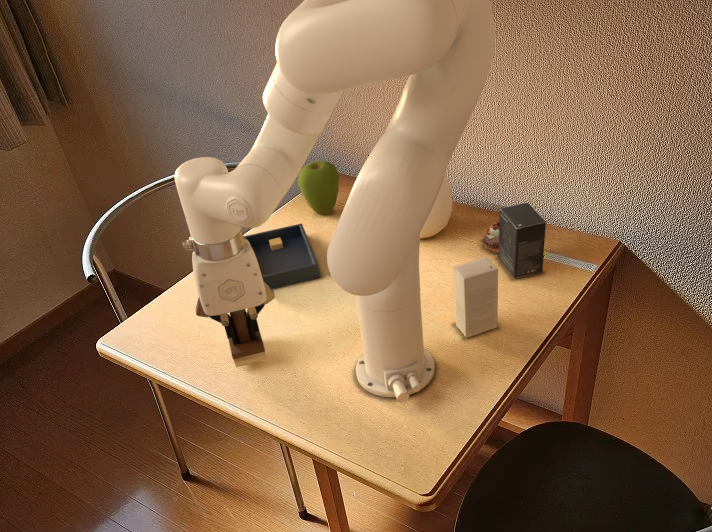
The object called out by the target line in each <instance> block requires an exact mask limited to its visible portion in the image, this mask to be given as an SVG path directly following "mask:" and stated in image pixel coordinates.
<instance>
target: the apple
mask: <svg viewBox="0 0 712 532" xmlns="http://www.w3.org/2000/svg"><path fill="white" fill-rule="evenodd" d="M297 179H298V180H297V184H298V187H299V189H300V192H301V195H302V197H303V198H304V200H305V202H306V203H307V205H308V207H309V208H310V209H311V210H313V211H314V212H315V213H316V214H317V215H319V216H326V215H329V214H330V213H331V212H332V211H333V209H334V207H335V205H336V204H337V200H338V199H337V198H338V195H339V190H340V189H339V188H340V187H339V186H340V185H339V184H340V183H339V182H340V173H339V171H338V169H337V167H336V166H335V165H334V164H333V163H331V162H329V161H326V160H315V161H312V162H309V163H307V164H304V165H303V166H302V168H301V170H300V172H299V174H298V177H297Z"/></svg>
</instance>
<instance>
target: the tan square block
mask: <svg viewBox="0 0 712 532" xmlns="http://www.w3.org/2000/svg"><path fill="white" fill-rule="evenodd" d="M269 243H270V247H271V249H272V251H273V250H277V249H281V248H283V243H282V241H281V238H280V237H279V238H275V239H271V240H269Z"/></svg>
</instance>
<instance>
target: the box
mask: <svg viewBox="0 0 712 532" xmlns="http://www.w3.org/2000/svg"><path fill="white" fill-rule="evenodd" d="M499 220H500V222H499V253H498V259H499V260H500V262H501V263H502V264H503V266H504V267H505V268H506V270H507V271H508V272H509V273H510V275H511V276H512V278H513V279H520V278H524V277H525V278H526V277H529V276H532V275H533V276H534V275H537V274H541V273H542V272H543V265H544V254H545V243H546V242H545V241H546V227H547V222H546V221H545V219H544V218H543V217H542V216H541V215H540V214H539V213H538V212H537V211H536V209H535V208H534V207H533V206H531V204H530V203H529V202H525V203H523V202H522V203H518V204H515V205H510V206H505V207H501V208H499Z"/></svg>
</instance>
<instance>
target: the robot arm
mask: <svg viewBox="0 0 712 532" xmlns="http://www.w3.org/2000/svg"><path fill="white" fill-rule="evenodd" d="M494 49H495V20H494V12H493V7H492V3H491V0H303V1H302V2H301V3H300V4H299V5H298V6H297V7H296V8H295V9H294V10H292V11H291V13H290V14H288V16H287V17H286V18H285V19H284V20H283V22H282V23H281V26H280V27H279V30H278V32H277V35H276V40H275V58H276V59H275V60H276V64H275V66H274V67H273V70H272V73H271V74H270V77H269V79H268V81H267V83H266V85H265V87H264V90H263V93H262V103H263V106H264V108H265V111H266V112H267V116H266V118H265V120H264V123H263V125H262V127H261V129H260V132H259V134H258V136H257V138H256V140H255V142H254V144H253V145H252V147H251V149H250V151H249V152H248V153H247V155H245V157H244V158H243V159H242V160H241V161H240V162H239V163H238V165H236V167H235V168H234V169H232V170H230V171H229V170H228V168H227V166H226V164H225V163H224V162H223V161H222V160H220V159H218V158H215V157H211V156H201V157H196V158H195V157H194V158H192V159H189V160H187V161H185V162H183V163H182V164H180V165H179V166H178V167H177V169H176V170H175V173H174V183H175V187H176V191H177V194H178V198H179V201H180V204H181V207H182V211H183V215H184V218H185V222H186V224H187V228H188V231H189V235H190V237H189V239H187V240H186V241H182V247H183V249H184V252H187V251H192V253H191V254H192V255H191V256H192V257H191V261H192V271H193V276H194V277H193V278H194V281H195V286H196V290H197V294H198V298H197V302H196V306H195V315H196V316H197V317H201V318H210V319H211V320H213V321H215V322H218V323H219V324H221V326H223V327H224V331H225V334H226V337H227V339H228V338H232V340H233V344H237V343H238V342H237V338H236V334H235V330H234V327H233V323H232V320H231V316H230V312H234V311H239V310H243V309H246V313H247V317H248V322H249V326H250V330H251V334H252V338H253V339H254V340H256V339H257V336H256V332H258V331H260V327H259V323H258V317H259V314H260V313H261V311H262V310H263V309H264V308H265V306H266V305H268V304H269V303H270V302H272V301H274V300H275V298H276V295H275V292H274V289H271V288H270V287H269V286H268V285H267V284H266V283H265V282H264V281H263V278H262V275H261V271H260V268H259V264H258V261H257V258H256V256H255V253H254V251H253V249H252V247H251V245H250V243H249V241H248V240H246V239H245V238H244V236H245V235H244V232H243V228H245V229H254V228H255V229H256V228H259V227H261V226H262V225H264V224H265V223H267V222H268V220H269V219H270V217H271V216H272V214H273V213H274V211H275V210H276V209H277V208H278V206H279V204H280V203H281V201H282V200H283V199H284V197H285V196H286V195H287V193H288V192H289V191H290V189H291V187H292V186H293V184H294V183H295V181H296V179H298V177H299V172H300V171H301V170H302V169H303V167H304V166H305V162H306V161H307V159H308V158H309V155H310V153H312V150H313V148H314V146H315V144H316V142H317V140H318V138H319V136H320V135H321V134H322V133H323V131H324V129H325V128H326V127H325V126H326V125H327V123H328V121H329V119H330V117H331V115H332V113H333V112H334V109H335V108H336V106H337V104H338V102H339V100H340V98H341V96H342V94H343V93H344V92H345V91H348V90H349V91H350V90H353V89H357V88H362V87H366V86H371V85H374V84H379V83H383V82H388V81H391V80H397V79H401V78H404V77H408V79H407V81H406V83H405V85H404V87H403V90H402V94H401V96H400V99H399V101H398V103H397V106H396V108H395V110H394V112H393V115H392V117H391V119H390V121H389V123H388V126H387V127H386V129H385V131H384V133H383V134H382V135H381V137H380V138H379V139H378V140H377V143H376V144H375V146H374V147H373V149H372V150H371V152H370V154H369V156H368V157H367V159H366V160H365V162H364V163H363V165H362V167H361V169H360V171H359V172H358V175H357V177H356V179H355V181H354V183H353V186H352V188H351V191H350V192H349V194H348V195H349V196H348V198H347V199H346V202H345V205H344V207H343V210H342V212H341V215H340V216H339V219H338V222H337V224H336V227H335V229H334V232H333V234H332V236H331V239H330V241H329V244H328V248H327V252H326V263H327V268H328V271H329V274H330V276H331V278H332V279H333V282H335V283H336V284H337V286H338V287H340V288H341V289H342V290H344V291H345V292H346V293H348V294H350V295H354V296H355V302H356V311H357V318H358V324H359V325H358V327H359V332H360V339H361V347H362V354H361V356H360V357H359V359H358V360H357V362H356V367H355V375H356V379H357V381H358V383H359V385H360V386H361V387H362V388H363V389H364V390H366V391H367V392H368V393H371V394H373V395H376V396H378V397H383V398H396V400H397V402H399V403H402V404H403V403H406V402H407V401H408V400H409V399H410V395H413V394H415V393H418V392H420V391H421V390H423V389H424V388H425V387H427V385H428V384H430V383H431V381H432V380H433V378H434V375H435V370H436V365H435V360H434V357H433V355H432V354H431V353H430V352H429V351H428V350H427V349H426V348H425V347H424V346H425V345H424V332H423V331H424V329H423V315H422V300H421V299H422V298H421V281H420V279H421V277H420V246H421V244H420V243H421V242H420V241H421V239H420V232H421V230H422V228H423V226H424V224H425V222H426V220H427V218H428V216H429V214H430V212H431V209H432V207H433V205H434V203H435V200H436V198H437V195H438V193H439V190H440V188H441V185H442V183H443V180H444V177H445V174H446V173H447V170H448V166H449V163H450V162H451V159H452V157H453V154H454V152H455V150H456V148H457V146H458V144H459V142H460V140H461V138H462V136H463V134H464V132H465V130H466V127H467V125H468V123H469V121H470V119H471V116H472V114H473V112H474V111H475V108H476V106H477V103H478V102H479V99H480V97H481V95H482V92H483V89H484V87H485V84H486V82H487V79H488V76H489V73H490V69H491V65H492V60H493V55H494Z"/></svg>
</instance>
